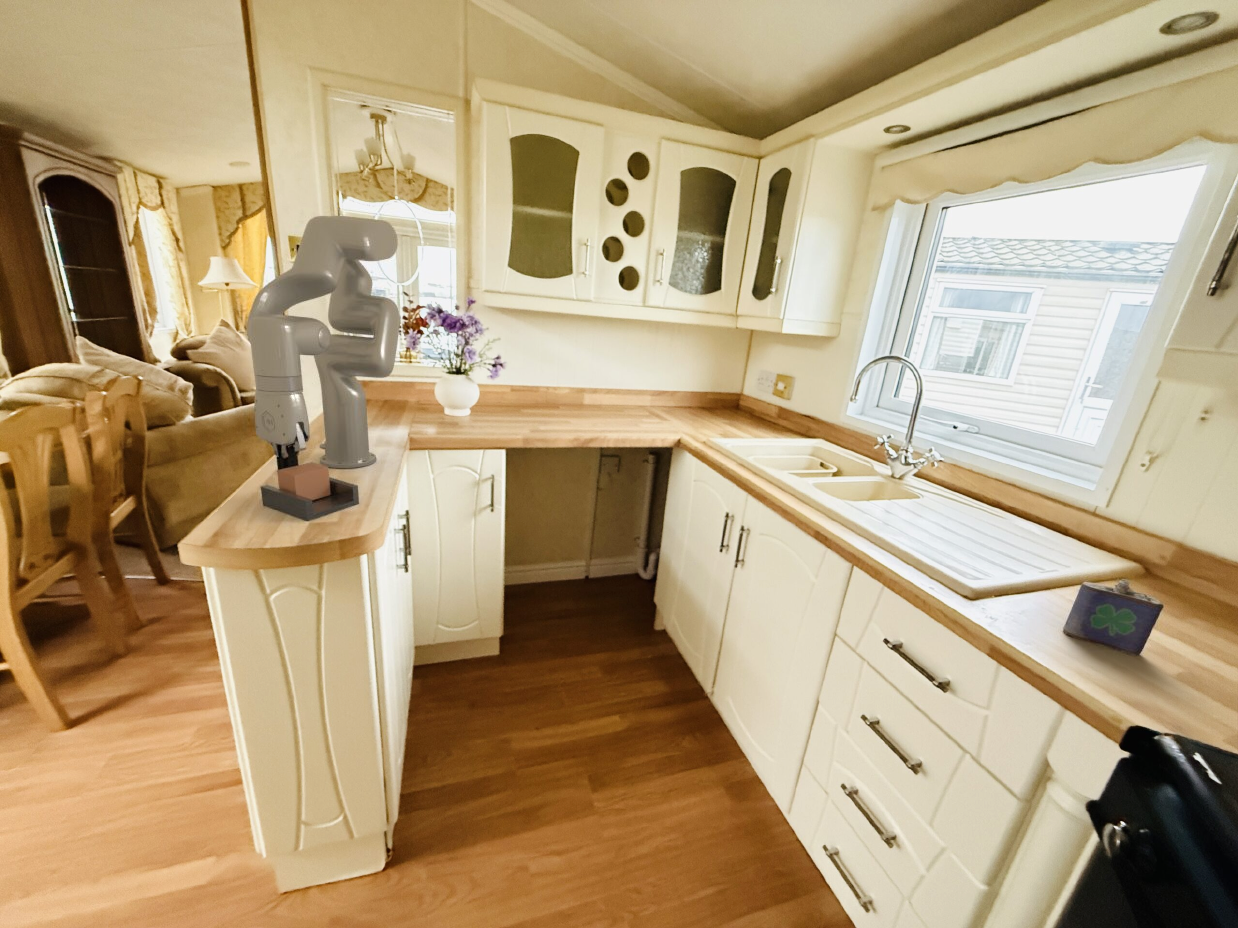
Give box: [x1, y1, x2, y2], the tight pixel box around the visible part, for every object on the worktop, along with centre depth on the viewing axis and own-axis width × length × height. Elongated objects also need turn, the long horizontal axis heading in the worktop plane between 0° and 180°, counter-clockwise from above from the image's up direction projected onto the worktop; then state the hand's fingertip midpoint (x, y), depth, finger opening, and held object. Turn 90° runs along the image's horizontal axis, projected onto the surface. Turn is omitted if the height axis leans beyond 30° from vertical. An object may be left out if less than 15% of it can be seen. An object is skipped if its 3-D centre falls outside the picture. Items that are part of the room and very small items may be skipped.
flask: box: [1062, 578, 1164, 657], centre depth 75 cm, size 9×3×11 cm, turn 59°
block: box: [276, 461, 331, 500], centre depth 99 cm, size 5×7×6 cm
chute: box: [260, 476, 360, 522], centre depth 99 cm, size 13×11×4 cm
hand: (289, 474), depth 100 cm, fingers closed
